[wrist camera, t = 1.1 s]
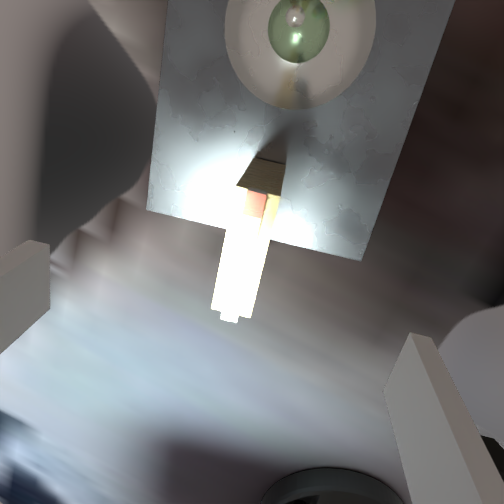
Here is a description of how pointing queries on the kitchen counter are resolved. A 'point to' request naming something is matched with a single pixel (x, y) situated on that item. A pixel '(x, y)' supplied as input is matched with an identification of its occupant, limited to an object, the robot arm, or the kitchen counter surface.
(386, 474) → the kitchen counter surface
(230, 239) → the yellow white layered bar
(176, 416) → the kitchen counter surface
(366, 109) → the base plate
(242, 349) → the kitchen counter surface
